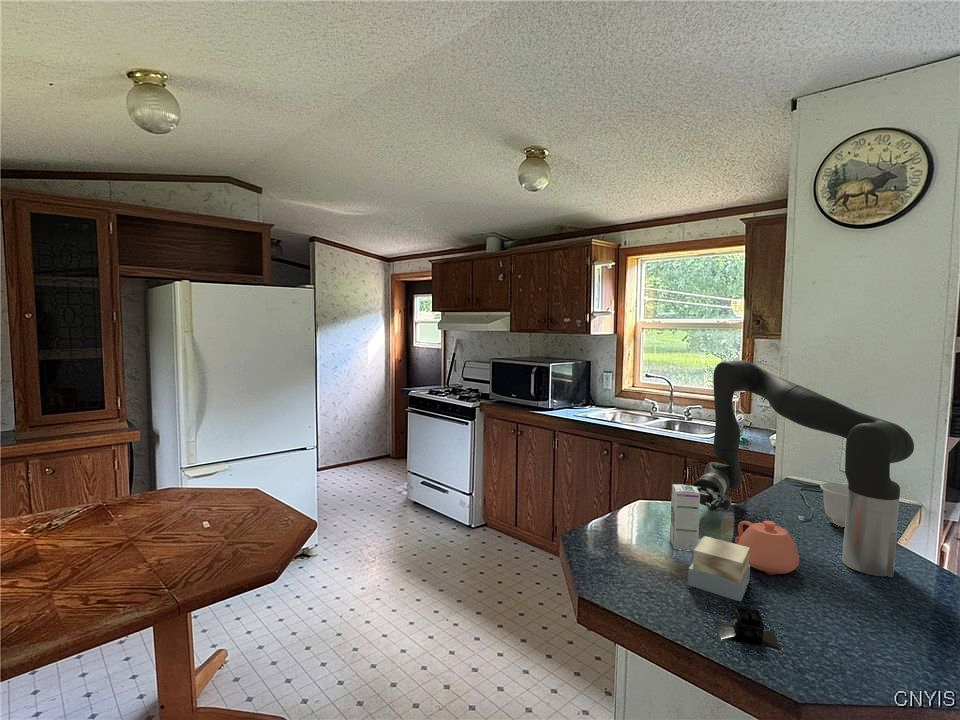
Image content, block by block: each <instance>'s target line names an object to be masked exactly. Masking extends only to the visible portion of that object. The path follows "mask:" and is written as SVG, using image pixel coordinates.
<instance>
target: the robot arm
mask: <svg viewBox="0 0 960 720" xmlns="http://www.w3.org/2000/svg"><path fill="white" fill-rule="evenodd" d="M712 377H713V378H712V380H713V381H712V382H713V386H712V387H713V399H714V414H715V416H714V417H715V424H714V425H715V426H714V437H713V446H712V453H713V455H714V456H715V457H717V458H719V459H721V460H723V461H724V462H726V463H727V464H724V463H722V462H721V463H720V462H717V461H716V462H715V461H711V462H708V463H707V464H706V465H705V467H704V472H703V475H701V476H700V477H699V478H698V479H697V480H695V481H694V483H693V484H692V486H695V487H696V488H697V490H698V491H699V493H700V505H702V506H706V507H710V508H709V509H710V513H711V512H712V513H714V512H715V511H718V510H720V509H721V508H723V510H725V511H729V509H730V508H731V506H732V494H725V493H726V492H727V491H728V490H733V491H734V490H737V489H739V487H740V486H741V484H742V480H743V477H742V470H741V466H740V465H741V464H740V458H739V451H740V450H739V449H740V441H741V429H740V425H739V423H738V422H739V421H738V419H737V417H736V415H735V412H734V408H733V399H734V395H735V392H749V393H752V394H753V395H754V394H755V395H757V396H760V397H762V398H764V400H767V402H768V403H769V405H770V407H771V408H772V409H773V410H774V411H775V413H777V414H778V415H780V416H782V417H783V418H785V419H787V420H789V421H791V422H793V423H795V424H797V425H800V426H803V427H805V428H808V429H811V430H815V431H819V432H823V433H826V434H831V435H835V436H838V437H841V438H844V439H846V440H845V454H844V455H845V458H844V461H845V462H844V463H845V464H844V474H845V477H846V479H847V482H848V483H847V484H848V496H847V507H846V519H845V528H844V531H843V532H844V533H843V543H842V555H841V562H842V563H843V564H844V565H845V566H846V567H848V568H850V569H852V570H853V571H857V572H858V573H859V572H860V573H862V574H866V575H871V576H875V577H876V576H877V577H887V576H888V578H892V577H893V578H894V574H895V573H894V572H895V562H896V561H895V560H896V553H897V552H896V551H897V540H898V534H897V529H898V528H897V527H898V517H899V508H900V507H899V506H900V498H901V497H900V495H901V487H900V484H899V483H897V482H895V481H893V480H891V473H890V472H891V471H890V469H891V464H896V463H899V462H902V461H905V460H906V459H908V458H910V457H911V455H912V454H913V453H914V450H915V443H914V439H913V438H912V436H911V435H910V433H909V432H908V431H907V430H906V429H905V428H904V427H902V426H900V425H899V424H897V423H894V422H891V421H888V420H885V419H881V418H878V417H875V416H872V415H869V414H867V413H863V412H860V411H857V410H855V409H852V408H850V407H849V406H846V405H844V404H842V403H840V402H837V401H836V400H834V399H831V398H829V397H826V396H824V395H823V394H820V393H818V392H816V391H814V390H812V389H809V388H807V387H804V386H802V385H800V384H796V383H794V382H792V381H789V380H787V379H784V378H782V377H779V376H776V375H774V374H772V373H770V372H769V371H767V370H765V369H763V368H762V367H760V366H758V365H756V364H755V363H754V362H751V361H747V360H744V359H743V360H742V359H738V360H737V359H736V360H724V361H721V362H719V363H717V365H716V366H715V368H714V371H713V376H712Z"/></svg>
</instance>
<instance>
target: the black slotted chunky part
mask: <svg viewBox="0 0 960 720" xmlns="http://www.w3.org/2000/svg"><path fill="white" fill-rule="evenodd" d="M732 620H733V621H732V623H729V622H728V623H727V622H722V621H717V620H715V621H714V622H715V626H716V629H717V632H718V634H719V638H720V640H723V641H728V642H729V641H730V642H735V643H741V644H746V645H752V646H758V647H762V648H768V649H773V650H774V649H775V650H779V651H781V650H782V649H781V646H780V644H779V642H778V639H777V637H776V634H775V632H774V631H773V630H769V629H765V624H764V623H763V618H762V616H761V614H760V611H759V610H757V609H748V608H744V607H743V608H742V607H735V611H734V612H733V615H732ZM768 630H769V631H768Z"/></svg>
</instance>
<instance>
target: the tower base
mask: <svg viewBox="0 0 960 720" xmlns="http://www.w3.org/2000/svg"><path fill="white" fill-rule="evenodd" d="M687 575H688V576H687V586H689V587H692V586H693V587H692V588H695V587H696V589H698V588H699V590H702V591H705V592H709V593H712V594H715V595H719V596H721V597H724V598H727V599H731V600H734V601H738V602H742V600H743V598H744V596H745V593H746V591H747V588H748V586H749V583H750V576H751V566H750V565H749V566H748V568H747V570H746V573H745V575H744V577H743V579H742V582H741V583H740V582H737V581H733V580H730V579H726V578H723V577H719V576H716V575H713V574H709V573H706V572H702V571H699V570H695V569H693V562H692V563H691V564H690V566H689V567H688V574H687ZM747 585H748V586H747Z"/></svg>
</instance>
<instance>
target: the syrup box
mask: <svg viewBox="0 0 960 720" xmlns="http://www.w3.org/2000/svg"><path fill="white" fill-rule="evenodd" d="M671 485H672V486H671V488H672V489H671V505H670V506H671V507H670V508H671V509H670V525H669V527H670V528H669V530H670V531H669V541H670V543H671V546H672V549H674V550H677V549H681V550H680V551H684V550H689V551H688V552H694V549H695V548H696V547H697V545H698V544H699V534H700V533H699V530H700V508H701V507H700V506H701V504H700V493H699V491H698V490H697V488H696V487H695V486H693V485H690V484H681V483H680V484H678V483H677V484H675V483H673V484H671Z"/></svg>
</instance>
